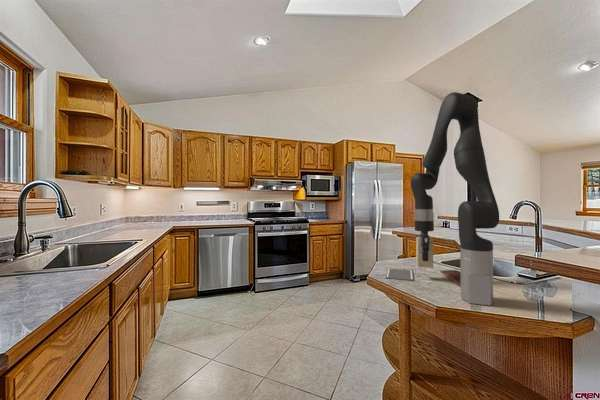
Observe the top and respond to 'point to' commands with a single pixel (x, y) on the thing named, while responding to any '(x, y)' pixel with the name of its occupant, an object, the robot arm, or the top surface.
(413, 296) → the top surface
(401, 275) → the mat
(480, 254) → the robot arm
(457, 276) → the wooden tablet
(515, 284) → the top surface
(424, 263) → the skincare box
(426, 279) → the top surface
